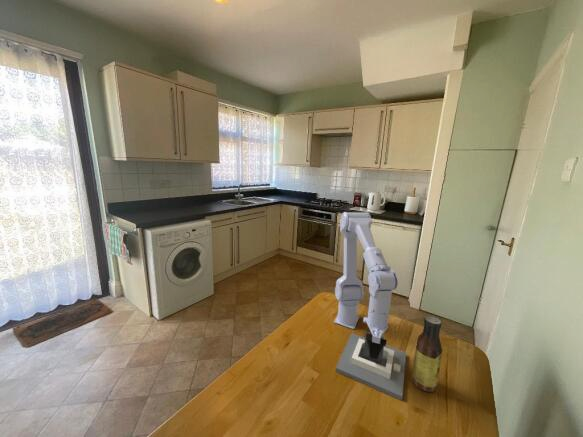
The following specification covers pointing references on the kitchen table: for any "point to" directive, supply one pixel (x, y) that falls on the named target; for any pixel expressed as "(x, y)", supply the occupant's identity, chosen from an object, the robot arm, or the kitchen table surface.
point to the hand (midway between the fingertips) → (374, 348)
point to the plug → (367, 356)
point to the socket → (374, 367)
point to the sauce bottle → (428, 355)
